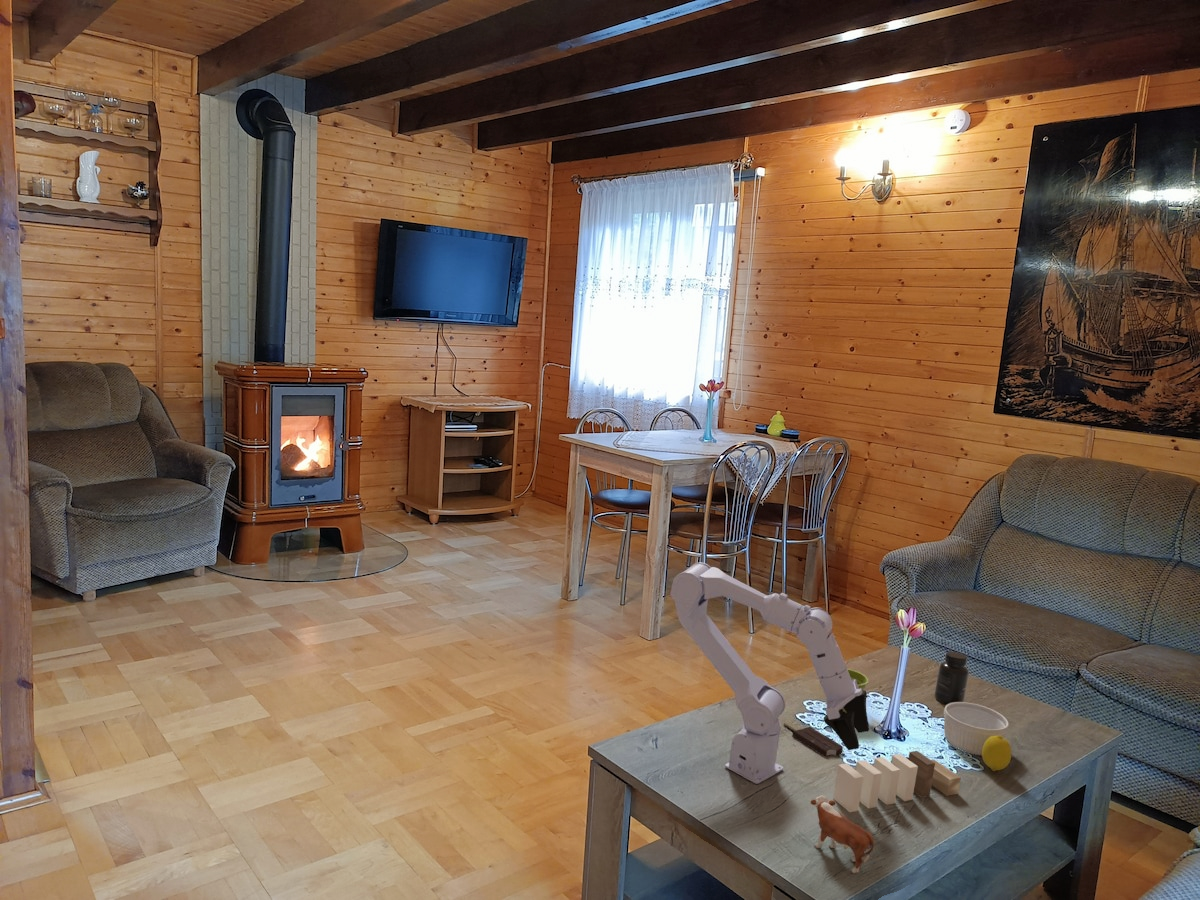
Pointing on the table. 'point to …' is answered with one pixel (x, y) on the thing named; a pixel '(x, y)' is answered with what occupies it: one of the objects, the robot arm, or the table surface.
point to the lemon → (996, 752)
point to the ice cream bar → (815, 740)
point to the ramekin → (972, 725)
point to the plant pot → (858, 680)
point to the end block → (945, 779)
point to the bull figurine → (842, 832)
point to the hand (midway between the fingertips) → (858, 740)
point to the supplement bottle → (952, 678)
